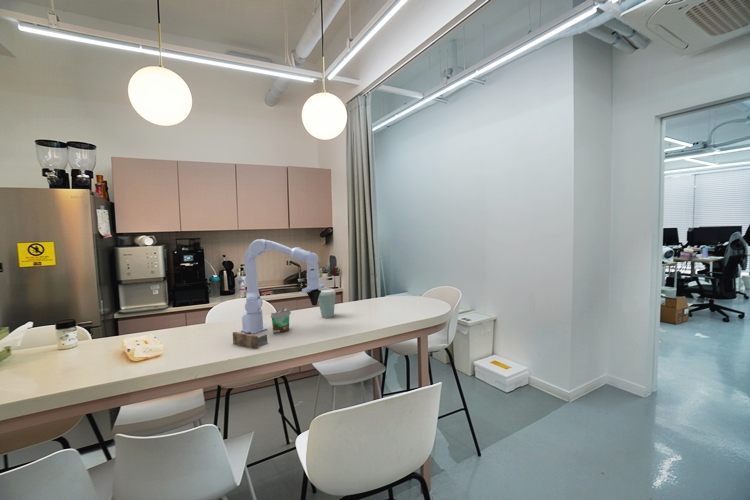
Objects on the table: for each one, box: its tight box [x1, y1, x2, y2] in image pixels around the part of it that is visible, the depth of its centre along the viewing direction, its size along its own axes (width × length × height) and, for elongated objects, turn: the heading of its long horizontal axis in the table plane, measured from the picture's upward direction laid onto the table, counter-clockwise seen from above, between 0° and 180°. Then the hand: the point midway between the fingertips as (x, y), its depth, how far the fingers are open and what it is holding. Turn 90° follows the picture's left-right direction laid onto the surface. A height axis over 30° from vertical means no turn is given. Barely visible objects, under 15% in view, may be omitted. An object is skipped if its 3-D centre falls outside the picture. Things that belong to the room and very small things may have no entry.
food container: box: [270, 307, 292, 335], centre depth 157 cm, size 12×6×10 cm, turn 168°
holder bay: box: [232, 331, 268, 350], centre depth 141 cm, size 14×7×5 cm, turn 60°
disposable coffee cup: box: [318, 287, 337, 319], centre depth 181 cm, size 11×11×15 cm
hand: (314, 305), depth 163 cm, fingers closed
